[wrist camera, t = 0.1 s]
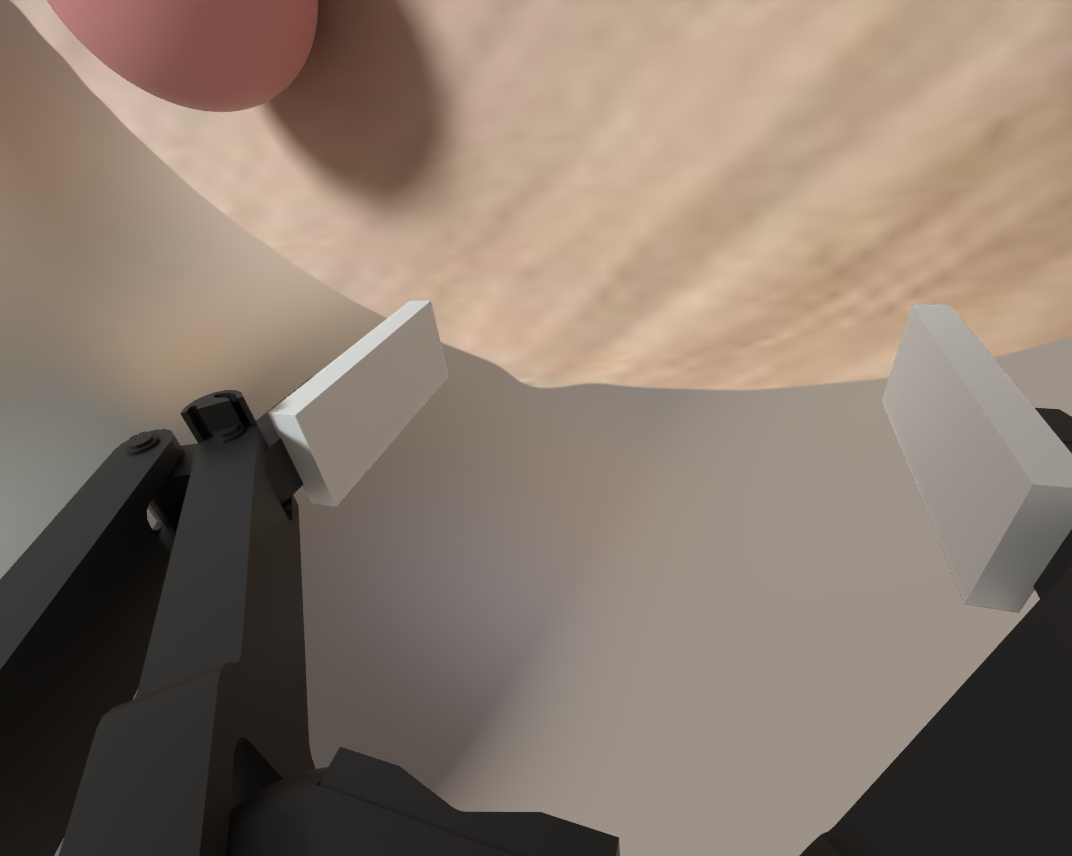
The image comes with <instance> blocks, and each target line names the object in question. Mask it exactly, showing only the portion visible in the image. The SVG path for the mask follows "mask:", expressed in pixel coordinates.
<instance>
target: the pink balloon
mask: <svg viewBox="0 0 1072 856" xmlns="http://www.w3.org/2000/svg"><path fill="white" fill-rule="evenodd" d="M47 2H48V3H49V5H50V6H51V8H52V9H53V10H54V12H55V13H56V14H57V16H58V17H59V18H60V19H61V21H62V22H63V23H64V24H65V26H66V27H67V28H68V29H69V30H70V31H71V32H72V34H73V35H74V36H75V37H76V38H77V39H78V40H79V41H80V42H81V43H82V44H83V45H84V46H85V47H86V48H87V49H88V50H89V51H90V52H91V53H92V54H94V55H95V56H96V57H97V58H98V59H99V60H100V61H102V62H103V63H104V64H105V65H107V66H108V67H109V68H110V69H112V70H113V71H114V72H116V73H117V74H119V75H120V76H121V77H123V78H124V79H126V80H127V81H129V82H131V83H132V84H134V85H136V86H137V87H139V88H141V89H143V90H144V91H146V92H148V93H150V94H152V95H154V96H157V97H159V98H161V99H163V100H166V101H169V102H171V103H174V104H177V105H181V106H184V107H188V108H192V109H197V110H203V111H212V112H231V111H239V110H244V109H249V108H252V107H255V106H258V105H261V104H263V103H265V102H267V101H269V100H271V99H273V98H274V97H276V96H277V95H279V94H280V93H281V92H282V91H284V90H285V89H286V88H287V87H288V86H289V85H290V84H291V83H292V82H293V81H294V79H295V78H296V77H297V76H298V74H299V73H300V71H301V70H302V68H303V66H304V64H305V62H306V60H307V58H308V56H309V53H310V51H311V48H312V45H313V41H314V37H315V32H316V27H317V18H318V0H47Z"/></svg>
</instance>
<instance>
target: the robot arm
mask: <svg viewBox="0 0 1072 856" xmlns="http://www.w3.org/2000/svg"><path fill="white" fill-rule="evenodd" d="M448 376H449V375H448V371H447V367H446V363H445V359H444V354H443V350H442V346H441V342H440V338H439V333H438V329H437V325H436V321H435V316H434V312H433V308H432V304H431V301H409V302H407V303H406V304H405V305H404V306H402V307H401V308H400V309H399V310H397V311H396V312H395V313H394V314H392V315H391V316H390V317H388V318H387V319H386V320H385V321H383V322H382V323H381V324H380V325H378V326H377V327H376V328H375V329H373V330H372V331H371V332H369V333H368V334H367V335H366V336H364V337H363V338H362V339H361V340H359V341H358V342H357V343H356V344H354V345H353V346H352V347H350V348H349V349H348V350H347V351H346V352H344V353H343V354H342V355H340V356H339V357H338V358H337V359H335V360H334V361H333V362H331V363H330V364H329V365H328V366H326V367H325V368H324V369H323V370H321V371H320V372H319V373H318V374H316V375H315V376H313V377H311V378H310V379H309V380H307V381H306V382H305V383H303V384H302V385H301V386H300V387H298V389H297V390H294V391H293V392H292V393H291V394H289V395H288V397H287V398H284V399H283V400H282V401H280V402H279V403H278V404H277V405H275V406H274V407H273V408H272V409H270V410H269V411H268V412H267V413H265V414H264V415H263V416H261V417H260V418H259V419H258V420H256V421H255V419H254V417H253V415H252V413H251V411H250V409H249V407H248V405H247V403H246V401H245V399H244V397H243V395H242V393H241V392H239V391H236V390H225V391H220V392H215V393H212V394H209V395H206V396H203V397H201V398H199V399H197V400H195V401H193V402H192V403H190V404H189V405H188V406H186V407H185V408H184V409H183V411H182V412H181V415H182V417H183V419H184V420H185V422H186V423H187V425H188V427H189V429H190V430H191V432H192V433H193V435H194V437H195V438H196V440H197V442H198V444H192V445H184V446H180V444H179V442H178V441H177V439H176V438H175V436H174V434H173V433H172V431H170V430H166V429H161V430H154V431H149V432H142V433H139V435H135V436H132V437H131V438H130V439H129V440H127V441H126V442H124V443H122V444H121V445H120V446H119V447H117V448H116V449H115V450H114V451H113V452H112V454H111V455H110V456H109V457H108V458H107V459H106V460H105V461H104V462H103V464H102V465H101V466H100V467H99V468H98V469H97V470H96V472H95V473H94V474H93V475H92V476H91V477H90V478H89V479H88V481H87V482H86V483H85V484H84V485H83V486H82V488H81V489H80V490H79V491H78V492H77V493H76V494H75V495H74V497H73V498H72V499H71V500H70V501H69V502H68V503H67V504H66V506H65V507H64V508H63V509H62V510H61V511H60V512H59V514H58V515H57V516H56V517H55V518H54V519H53V520H52V521H51V523H50V524H49V525H48V526H47V527H46V528H45V529H44V531H43V532H42V533H41V534H40V535H39V536H38V537H37V538H36V540H35V541H34V542H33V543H32V544H31V545H30V546H29V548H28V549H27V550H26V551H25V552H24V553H23V554H22V556H21V557H20V558H19V559H18V560H17V562H15V563H14V565H13V566H12V567H11V568H10V569H9V570H8V572H7V573H6V574H5V575H4V576H3V577H2V578H1V580H0V856H54V855H55V853H56V851H57V849H58V847H59V845H60V844H61V842H62V840H63V838H64V840H63V844H62V847H61V850H60V854H59V856H620V850H619V837H616V836H612V835H609V834H606V833H603V832H600V831H597V830H594V829H591V828H588V827H585V826H582V825H579V824H576V823H573V822H569V821H566V820H563V819H560V818H557V817H554V816H551V815H547V814H545V813H542V812H463V811H459V810H456V809H454V808H453V807H451V806H450V805H449V804H448V803H446V802H445V801H444V800H442V799H441V798H440V797H438V796H437V795H436V794H435V793H433V792H432V791H431V790H430V789H428V788H427V787H426V786H424V785H423V784H422V783H420V782H419V781H418V780H417V779H415V778H414V777H413V776H412V775H410V774H409V773H408V772H406V771H405V770H404V769H403V768H401V767H400V766H397V765H394V764H391V763H388V762H385V761H382V760H379V759H376V758H373V757H370V756H367V755H364V754H361V753H358V752H355V751H352V750H348V749H345V748H342V747H340V748H339V750H338V751H337V753H336V755H335V757H334V759H333V761H332V762H331V764H330V766H329V767H325V768H319V769H316V768H315V766H314V763H313V760H312V757H311V752H310V747H309V732H308V709H307V688H306V687H307V686H306V664H305V641H304V619H303V596H302V576H301V575H302V574H301V552H300V529H299V508H298V507H299V506H298V504H297V502H296V499H295V498H294V496H293V494H294V493H295V492H296V491H297V490H298V489H299V488H300V487H301V486H302V485H303V487H304V489H305V491H306V493H307V495H308V497H309V499H310V501H311V503H316V504H322V505H328V506H335V507H336V506H337V505H338V504H339V503H340V502H341V500H342V499H343V498H344V497H345V496H346V494H348V492H349V491H350V490H351V489H352V488H353V487H354V485H355V484H356V483H357V482H358V481H359V480H360V478H361V477H362V476H363V475H364V474H365V473H366V471H367V470H368V469H369V468H370V467H371V466H372V465H373V463H374V462H375V461H376V460H377V459H378V458H379V456H380V455H381V454H382V453H383V452H384V451H385V449H386V448H387V447H388V446H389V445H390V444H391V442H392V441H393V440H394V439H395V438H396V437H397V436H398V434H399V433H400V432H401V431H402V430H403V428H404V427H405V426H406V425H407V424H408V423H409V422H410V420H411V419H412V418H413V417H414V416H415V415H416V413H417V412H418V411H419V410H420V409H421V408H422V407H423V405H424V404H425V403H426V402H427V401H428V400H429V398H430V397H431V396H432V395H433V394H434V393H435V391H436V390H437V389H438V388H439V387H440V386H441V385H442V383H443V382H444V381H445V380H446V379H447V378H448ZM882 403H883V405H884V408H885V410H886V413H887V415H888V418H889V420H890V422H891V425H892V427H893V430H894V432H895V435H896V437H897V440H898V442H899V445H900V447H901V450H902V452H903V454H904V457H905V459H906V462H907V464H908V467H909V469H910V472H911V474H912V477H913V479H914V481H915V484H916V487H917V489H918V491H919V494H920V496H921V499H922V501H923V504H924V506H925V509H926V511H927V514H928V516H929V518H930V521H931V523H932V526H933V528H934V531H935V533H936V536H937V538H938V541H939V543H940V545H941V548H942V550H943V553H944V555H945V558H946V560H947V563H948V565H949V568H950V570H951V573H952V575H953V577H954V580H955V582H956V585H957V587H958V590H959V592H960V595H961V597H962V600H963V602H964V604H966V605H973V606H979V607H985V608H992V609H999V610H1005V611H1012V612H1018V613H1019V612H1020V610H1021V609H1022V607H1023V606H1024V604H1025V603H1026V601H1027V600H1028V598H1029V597H1030V596H1031V594H1032V593H1033V591H1034V590H1036V592H1037V594H1038V596H1039V597H1040V600H1039V601H1038V602H1037V603H1036V604H1035V606H1034V607H1033V608H1032V609H1031V610H1030V611H1029V612H1028V613H1027V614H1026V615H1025V617H1024V618H1023V619H1022V620H1021V621H1020V622H1019V623H1018V624H1017V625H1016V626H1015V628H1014V629H1013V630H1012V631H1011V632H1010V633H1009V634H1008V635H1007V637H1005V639H1004V640H1003V641H1002V642H1001V643H1000V644H999V645H998V646H997V648H996V649H995V650H994V651H993V652H992V653H991V654H990V655H989V656H988V657H987V658H986V660H985V661H984V662H983V663H982V664H981V665H980V666H979V667H978V669H977V670H976V671H975V672H974V673H973V674H972V675H971V676H970V677H969V678H968V679H967V681H966V682H965V683H964V684H963V685H962V686H961V687H960V688H959V689H958V691H957V692H956V693H955V694H954V695H953V696H952V697H951V698H950V699H949V701H948V702H947V703H946V704H945V705H944V706H943V707H942V708H941V709H940V710H939V712H938V713H937V714H936V715H935V716H934V717H933V718H932V719H931V720H930V721H929V723H928V724H927V725H926V726H925V727H924V728H923V729H922V730H921V731H920V732H919V734H918V735H917V736H916V737H915V738H914V739H913V740H912V741H911V743H910V744H909V745H908V746H907V747H906V748H905V749H904V750H903V751H902V752H901V753H900V754H899V756H898V757H897V758H896V759H895V760H894V761H893V762H892V763H891V764H890V766H889V767H888V768H887V769H886V770H885V771H884V772H883V773H882V774H881V775H880V777H879V778H878V779H877V780H876V781H875V782H874V783H873V784H872V785H871V787H870V788H869V789H868V790H867V791H866V792H865V793H864V794H863V795H862V796H861V798H860V799H859V800H858V801H857V802H856V803H855V805H853V806H852V808H851V809H850V810H849V811H848V812H847V813H846V814H845V815H844V816H843V817H842V818H841V820H840V821H839V822H838V823H837V824H836V825H835V826H834V827H833V828H832V829H831V830H829V831H828V832H826V833H823V834H821V835H820V836H819V837H818V838H817V839H816V840H815V841H813V842H812V843H811V844H810V845H809V846H808V847H807V848H806V849H805V851H803V853H802V854H801V855H800V856H1072V417H1071V416H1069V415H1068V414H1066V413H1064V412H1063V411H1061V410H1059V409H1045V408H1034V407H1033V406H1032V404H1031V403H1030V402H1029V401H1028V400H1027V398H1026V397H1025V396H1024V395H1023V393H1022V392H1021V391H1020V390H1019V389H1018V387H1017V386H1016V385H1015V384H1014V382H1013V381H1012V380H1011V379H1010V378H1009V376H1008V375H1007V374H1006V373H1005V371H1004V370H1003V369H1002V368H1001V367H1000V366H999V364H998V363H997V362H996V361H995V359H994V358H993V357H992V355H991V354H990V353H989V352H988V351H987V349H986V348H985V347H984V346H983V344H982V343H981V342H980V341H979V340H978V338H977V337H976V336H975V335H974V333H973V332H972V331H971V330H970V329H969V327H968V326H967V325H966V324H965V322H964V321H963V320H962V319H961V318H960V316H959V315H958V314H957V313H956V311H955V310H954V309H953V308H952V307H951V305H923V304H912V307H911V310H910V313H909V316H908V319H907V322H906V326H905V329H904V332H903V335H902V338H901V342H900V345H899V348H898V351H897V354H896V357H895V361H894V364H893V367H892V370H891V373H890V376H889V380H888V383H887V386H886V389H885V393H884V395H883V399H882ZM147 508H148V509H149V511H150V512H151V513H152V515H153V516H154V517H155V519H156V520H157V523H156V524H155V526H154V528H153V529H152V528H151V527H150V524H149V522H148V520H147ZM137 689H138V692H137V694H136V697H135V699H134V700H132V699H133V697H134V695H135V693H136V691H137ZM64 836H65V837H64Z"/></svg>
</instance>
